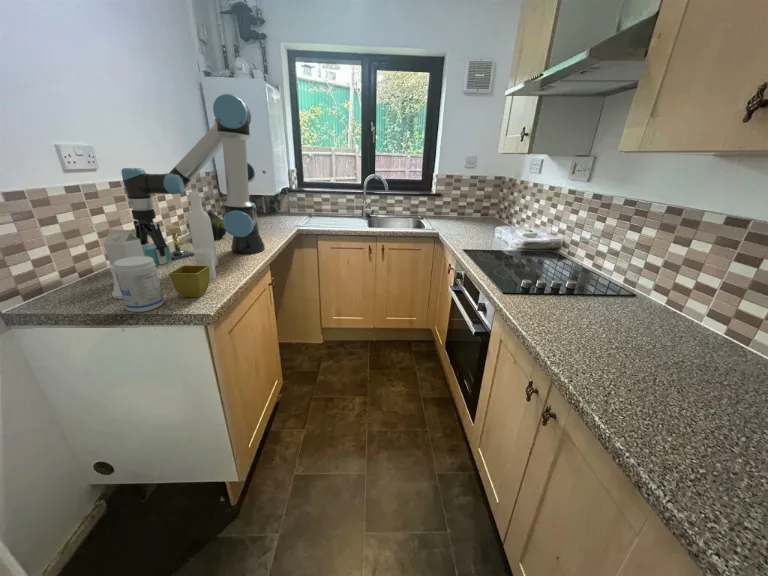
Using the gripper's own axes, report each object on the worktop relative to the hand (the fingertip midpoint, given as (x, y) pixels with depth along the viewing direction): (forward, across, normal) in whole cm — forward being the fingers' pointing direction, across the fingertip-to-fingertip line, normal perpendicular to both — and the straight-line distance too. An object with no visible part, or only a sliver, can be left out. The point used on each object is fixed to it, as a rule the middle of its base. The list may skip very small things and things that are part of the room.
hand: (155, 261), depth 135 cm
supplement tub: (0, +42, -26) cm, 49 cm away
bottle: (0, +23, +8) cm, 24 cm away
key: (-3, +3, +9) cm, 10 cm away
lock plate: (0, 0, +10) cm, 10 cm away
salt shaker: (0, +27, -24) cm, 36 cm away
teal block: (0, 0, 0) cm, 0 cm away
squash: (0, -18, +40) cm, 44 cm away
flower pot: (0, +46, -13) cm, 48 cm away
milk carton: (0, +17, -17) cm, 24 cm away
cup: (0, +36, -1) cm, 36 cm away
